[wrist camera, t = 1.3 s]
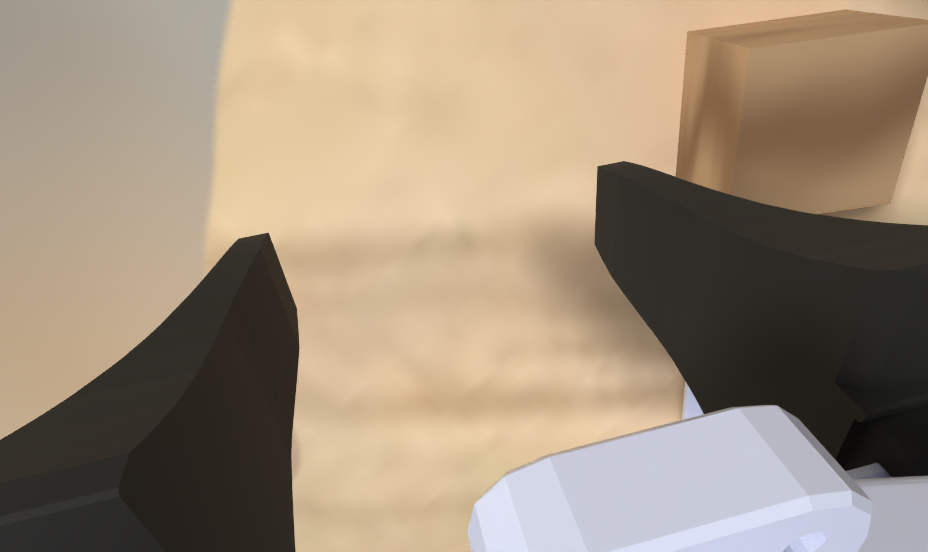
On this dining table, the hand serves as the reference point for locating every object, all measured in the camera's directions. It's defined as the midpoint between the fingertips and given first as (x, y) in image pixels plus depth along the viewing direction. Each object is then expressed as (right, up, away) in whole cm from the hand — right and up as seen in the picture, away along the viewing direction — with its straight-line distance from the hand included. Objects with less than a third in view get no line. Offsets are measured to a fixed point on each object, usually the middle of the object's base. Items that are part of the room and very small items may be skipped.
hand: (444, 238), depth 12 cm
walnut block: (+12, +6, +10) cm, 17 cm away
